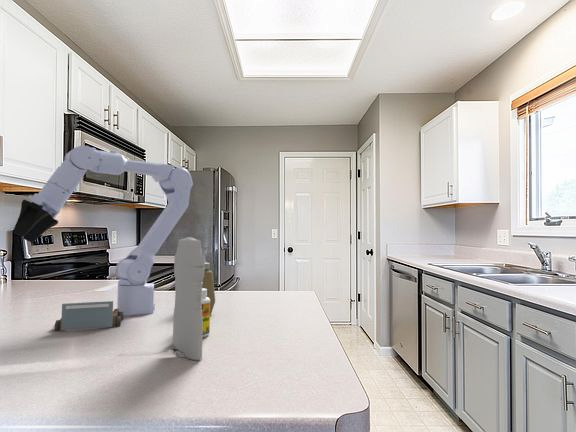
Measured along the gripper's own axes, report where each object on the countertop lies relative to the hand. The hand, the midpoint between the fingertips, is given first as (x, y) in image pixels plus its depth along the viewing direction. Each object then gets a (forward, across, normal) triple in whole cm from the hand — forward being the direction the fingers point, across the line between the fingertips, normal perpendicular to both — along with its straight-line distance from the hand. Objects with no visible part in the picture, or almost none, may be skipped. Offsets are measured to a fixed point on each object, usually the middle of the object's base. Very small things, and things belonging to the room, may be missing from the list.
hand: (22, 237), depth 83 cm
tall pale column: (+8, +23, +42) cm, 49 cm away
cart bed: (+12, -2, +23) cm, 26 cm away
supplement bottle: (+5, +11, +44) cm, 46 cm away
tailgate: (+12, +3, +23) cm, 26 cm away
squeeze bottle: (-1, -9, +46) cm, 47 cm away
